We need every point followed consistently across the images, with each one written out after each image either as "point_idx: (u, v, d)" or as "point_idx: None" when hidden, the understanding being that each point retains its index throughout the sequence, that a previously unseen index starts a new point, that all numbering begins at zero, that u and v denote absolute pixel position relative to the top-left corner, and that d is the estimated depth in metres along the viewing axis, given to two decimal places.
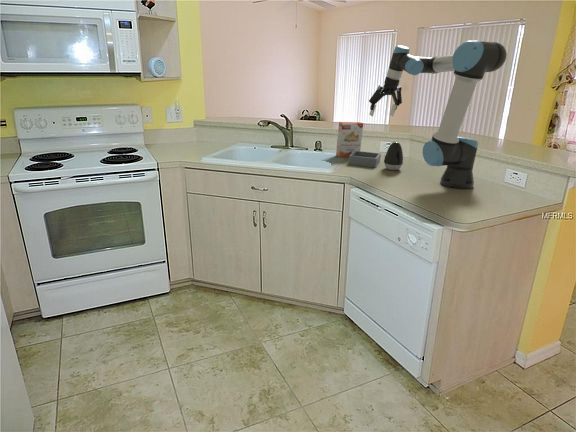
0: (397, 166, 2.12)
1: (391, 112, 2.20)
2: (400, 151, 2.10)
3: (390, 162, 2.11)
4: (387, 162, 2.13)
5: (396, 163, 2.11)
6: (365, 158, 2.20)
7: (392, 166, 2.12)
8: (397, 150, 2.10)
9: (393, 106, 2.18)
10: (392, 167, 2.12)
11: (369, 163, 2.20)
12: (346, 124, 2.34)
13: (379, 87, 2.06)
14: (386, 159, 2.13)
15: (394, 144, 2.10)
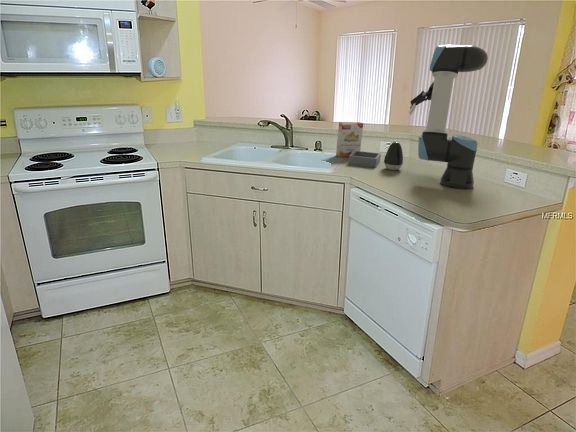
0: (397, 166, 2.12)
1: None
2: (400, 151, 2.10)
3: (390, 162, 2.11)
4: (387, 162, 2.13)
5: (396, 163, 2.11)
6: (365, 158, 2.20)
7: (392, 166, 2.12)
8: (397, 150, 2.10)
9: None
10: (392, 167, 2.12)
11: (369, 163, 2.20)
12: (346, 124, 2.34)
13: None
14: (386, 159, 2.13)
15: (394, 144, 2.10)
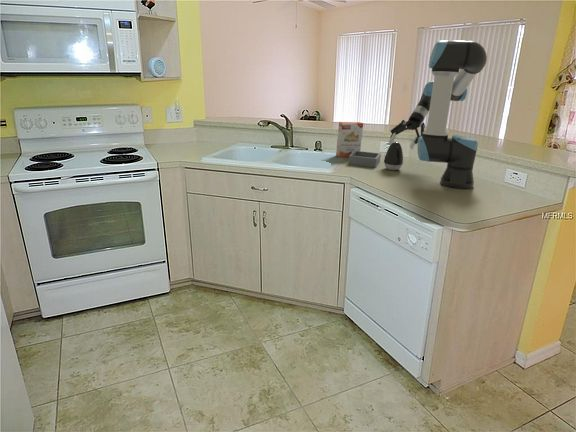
0: (397, 166, 2.12)
1: None
2: (400, 151, 2.10)
3: (390, 162, 2.11)
4: (387, 162, 2.13)
5: (396, 163, 2.11)
6: (365, 158, 2.20)
7: (392, 166, 2.12)
8: (397, 150, 2.10)
9: None
10: (392, 167, 2.12)
11: (369, 163, 2.20)
12: (346, 124, 2.34)
13: None
14: (386, 159, 2.13)
15: (394, 144, 2.10)
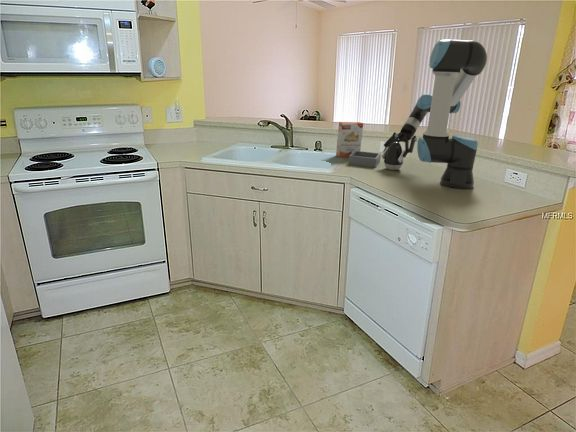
0: (397, 166, 2.12)
1: None
2: (400, 151, 2.10)
3: (390, 162, 2.11)
4: (387, 162, 2.13)
5: (396, 163, 2.11)
6: (365, 158, 2.20)
7: (392, 166, 2.12)
8: (397, 150, 2.10)
9: None
10: (392, 167, 2.12)
11: (369, 163, 2.20)
12: (346, 124, 2.34)
13: None
14: (386, 159, 2.13)
15: (394, 144, 2.10)
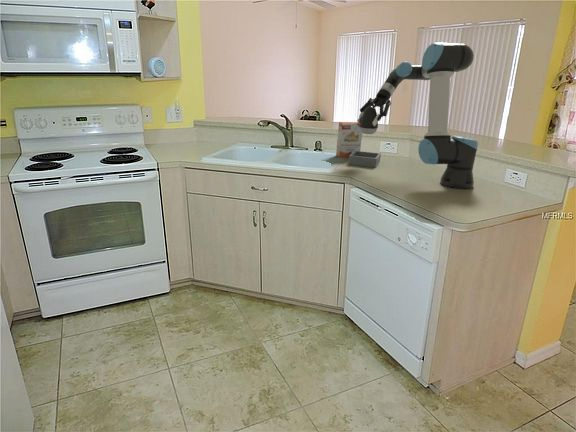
0: (372, 130, 2.18)
1: None
2: (375, 115, 2.16)
3: (365, 126, 2.17)
4: (362, 126, 2.18)
5: (371, 127, 2.16)
6: (365, 158, 2.20)
7: (367, 130, 2.18)
8: (372, 113, 2.15)
9: None
10: (367, 131, 2.18)
11: (369, 163, 2.20)
12: (346, 124, 2.34)
13: None
14: (361, 123, 2.19)
15: (369, 108, 2.16)
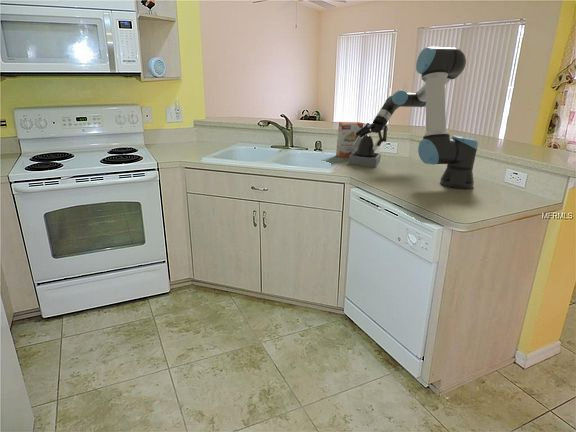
0: None
1: None
2: (371, 144, 2.21)
3: (362, 154, 2.23)
4: (359, 154, 2.24)
5: (367, 155, 2.22)
6: (365, 158, 2.20)
7: None
8: (368, 143, 2.21)
9: None
10: None
11: (369, 163, 2.20)
12: (346, 124, 2.34)
13: None
14: (358, 151, 2.24)
15: (365, 137, 2.21)
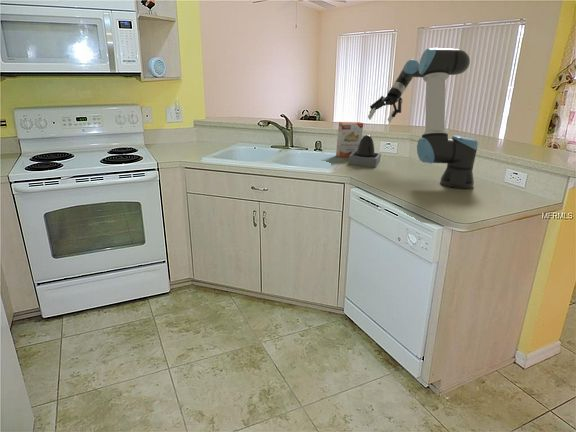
0: None
1: None
2: (371, 144, 2.22)
3: (362, 154, 2.23)
4: (359, 154, 2.24)
5: (367, 155, 2.22)
6: (365, 158, 2.20)
7: None
8: (368, 143, 2.21)
9: None
10: None
11: (369, 163, 2.20)
12: (346, 124, 2.34)
13: None
14: (358, 151, 2.25)
15: (365, 137, 2.22)
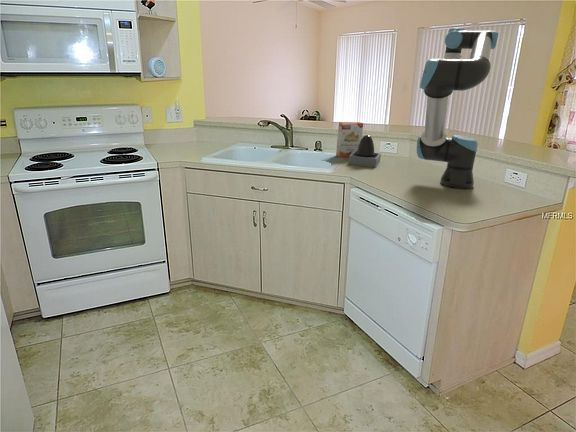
0: None
1: None
2: (371, 144, 2.22)
3: (362, 154, 2.23)
4: (359, 154, 2.24)
5: (367, 155, 2.22)
6: (365, 158, 2.20)
7: None
8: (368, 143, 2.21)
9: None
10: None
11: (369, 163, 2.20)
12: (346, 124, 2.34)
13: None
14: (358, 151, 2.25)
15: (365, 137, 2.22)
